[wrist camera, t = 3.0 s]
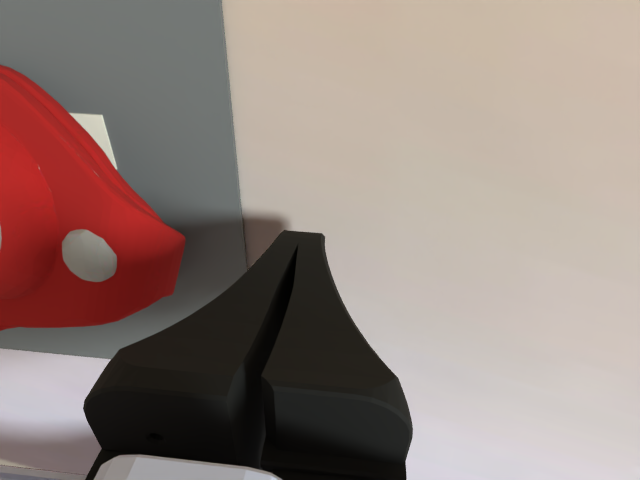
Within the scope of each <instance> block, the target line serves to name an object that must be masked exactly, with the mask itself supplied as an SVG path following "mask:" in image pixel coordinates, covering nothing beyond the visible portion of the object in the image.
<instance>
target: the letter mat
mask: <svg viewBox="0 0 640 480" xmlns="http://www.w3.org/2000/svg"><path fill="white" fill-rule="evenodd" d="M0 65H3V66H7V67H10V68H12V69H14V70H16V71H17V72H19V73H21V74H23V75H25V76H27V77H28V78H29V79H31V80H32V81H33V82H35V83H36V84H37V85H39V86H40V87H41V88H42V89H43V90H45V91H46V92H47V93H48V94H49V95H50V96H51V97H53V98H54V99H55V100H56V101H57V102H58V103H60V104H61V105H62V106H63V108H64V109H65V110H66V111H67V112H68V113H69V114H70V115H71V116H72V117H73V118H74V119H75V120H76V121H77V122H78V123H79V124H80V125H81V126H82V127H83V128H84V129H85V130H86V131H87V132H88V133H89V134H90V135H91V137H92V138H93V139H94V140H95V141H96V143H97V144H98V145H99V146H100V147H101V149H102V150H103V151H104V152H105V153H106V155H107V157H108V158H109V160H110V161H111V163H112V165H113V166H114V167H115V169H116V170H117V171H118V172H119V174H120V175H121V176H122V178H123V179H124V180H125V181H126V182H127V183H128V184H129V185H130V187H131V188H132V189H133V190H134V191H135V192H136V193H137V194H138V195H139V196H140V197H141V198H142V199H143V200H144V201H145V202H146V203H147V204H148V205H149V206H150V207H151V208H152V209H153V210H154V211H155V212H156V213H157V215H158V216H159V217H160V218H161V220H162V221H163V222H164V223H165V224H167V225H168V226H170V227H171V228H173V229H175V230H176V231H178V232H180V233H181V234H182V235H183V236H185V240H186V241H185V247H184V252H183V256H182V260H181V264H180V268H179V273H178V277H177V281H176V285H175V289H174V293H173V294H172V295H170V296H167V297H162V298H161V299H159V300H158V301H156V302H155V303H153V304H151V305H150V306H148V307H147V308H145V309H142V310H140V311H138V312H136V313H134V314H132V315H130V316H128V317H125V318H123V319H121V320H119V321H116V322H112V323H107V324H103V325H97V326H85V327H65V328H24V327H16V328H10V329H5V330H2V331H0V348H3V349H13V350H23V351H33V352H43V353H53V354H63V355H74V356H84V357H94V358H104V359H112V358H113V357H114V356H115V354H116V353H117V352H118V350H119V349H121V348H123V347H126V346H128V345H131V344H133V343H135V342H138V341H140V340H142V339H144V338H147V337H149V336H151V335H154V334H156V333H158V332H160V331H162V330H164V329H166V328H168V327H170V326H172V325H173V324H175V323H177V322H179V321H181V320H182V319H184V318H186V317H188V316H189V315H191V314H193V313H194V312H196V311H197V310H199V309H200V308H202V307H203V306H205V305H206V304H208V303H209V302H211V301H212V300H214V299H215V298H216V297H218V296H219V295H220V294H221V293H223V292H224V291H225V290H226V289H228V288H229V287H230V286H231V285H232V284H234V283H235V282H236V281H237V280H238V279H239V278H240V277H241V276H242V275H243V274H244V273H245V272H247V262H246V251H245V241H244V230H243V220H242V210H241V199H240V189H239V178H238V168H237V157H236V147H235V136H234V126H233V116H232V105H231V95H230V84H229V74H228V63H227V53H226V43H225V32H224V22H223V11H222V1H221V0H0Z"/></svg>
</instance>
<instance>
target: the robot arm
mask: <svg viewBox="0 0 640 480" xmlns="http://www.w3.org/2000/svg"><path fill="white" fill-rule="evenodd" d="M83 409H84V413H85V416H86V419H87V421H88V423H89V425H90V427H91V429H92V431H93V433H94V434H95V436H96V438H97V440H98V442H99V444H100V446H101V448H102V449H101V451H100V453H99V455H98V457H97V458H96V460H95V462H94V464H93V466H92V468H91V470H90V471H89V473H88V475H81V474H72V473H64V472H55V471H47V470H39V469H30V468H22V467H13V466H5V465H0V480H406V465H405V460H406V457H407V454H408V450H409V447H410V444H411V440H412V434H413V428H412V421H411V416H410V412H409V408H408V404H407V401H406V398H405V395H404V392H403V390H402V387H401V384H400V382H399V379H398V377H397V376H396V375H395V374H394V373H393V372H392V371H391V370H390V369H389V368H388V367H387V366H386V365H385V363H384V362H383V361H382V360H381V359H380V358H379V356H378V355H377V354H376V353H375V351H374V350H373V349H372V348H371V346H370V345H369V344H368V342H367V341H366V339H365V338H364V337H363V335H362V334H361V332H360V331H359V329H358V328H357V326H356V325H355V323H354V322H353V320H352V318H351V316H350V315H349V313H348V311H347V309H346V307H345V305H344V303H343V301H342V299H341V297H340V295H339V293H338V290H337V288H336V286H335V283H334V280H333V278H332V275H331V271H330V268H329V265H328V261H327V257H326V252H325V236H324V235H323V234H322V233H310V232H297V231H285V230H284V231H283V232H281V233H280V235H279V236H278V237H277V238H276V240H275V241H274V242H273V243H272V245H271V246H270V247H269V248H268V249H267V250H266V252H265V253H264V254H263V255H262V256H261V257H260V258H259V259H258V260H257V261H256V262H255V264H254V265H253V266H252V267H251V268H250V269H249V270H248V271H247V272H245V273H244V274H243V275H242V276H241V277H240V278H239V279H238V280H237V281H236V282H235V283H234V284H232V285H231V286H230V287H229V288H228V289H226V290H225V291H224V292H223V293H221V294H220V295H219V296H218V297H216V298H215V299H214V300H212V301H211V302H209V303H208V304H206V305H205V306H203V307H202V308H200V309H199V310H197V311H196V312H194V313H193V314H191V315H189V316H188V317H186V318H184V319H182V320H181V321H179V322H177V323H175V324H173V325H172V326H170V327H168V328H166V329H164V330H162V331H160V332H158V333H156V334H154V335H151V336H149V337H147V338H144V339H142V340H140V341H138V342H135V343H133V344H131V345H128V346H126V347H123V348H121V349H119V350H118V352H117V353H116V354H115V356H114V357H113V358H112V359H111V361H110V362H109V363H108V365H107V366H106V368H105V369H104V371H103V372H102V374H101V375H100V377H99V378H98V380H97V382H96V383H95V385H94V386H93V388H92V389H91V391H90V393H89V394H88V396H87V397H86V399H85V401H84V407H83Z"/></svg>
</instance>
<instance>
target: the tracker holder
mask: <svg viewBox="0 0 640 480" xmlns="http://www.w3.org/2000/svg"><path fill="white" fill-rule="evenodd" d="M185 241H186V240H185V236H183V235H182V234H181V233H180V232H178V231H176V230H175V229H173V228H171V227H170V226H168V225H167V224H165V223H164V222H163V221H162V220H161V218H160V217H159V216H158V215H157V213H156V212H155V211H154V210H153V209H152V208H151V207H150V206H149V205H148V204H147V203H146V202H145V201H144V200H143V199H142V198H141V197H140V196H139V195H138V194H137V193H136V192H135V191H134V190H133V189H132V188H131V187H130V185H129V184H128V183H127V182H126V181H125V180H124V179H123V178H122V176H121V175H120V174H119V172H118V171H117V170H116V169H115V167H114V166H113V165H112V163H111V161H110V160H109V158H108V157H107V155H106V153H105V152H104V151H103V150H102V149H101V147H100V146H99V145H98V144H97V143H96V141H95V140H94V139H93V138H92V137H91V135H90V134H89V133H88V132H87V131H86V130H85V129H84V128H83V127H82V126H81V125H80V124H79V123H78V122H77V121H76V120H75V119H74V118H73V117H72V116H71V115H70V114H69V113H68V112H67V111H66V110H65V109H64V108H63V106H62V105H61V104H60V103H58V102H57V101H56V100H55V99H54V98H53V97H51V96H50V95H49V94H48V93H47V92H46V91H45V90H43V89H42V88H41V87H40V86H39V85H37V84H36V83H35V82H33V81H32V80H31V79H29V78H28V77H27V76H25V75H23V74H21V73H19V72H17V71H16V70H14V69H12V68H10V67H7V66H3V65H0V331H2V330H5V329H10V328H16V327H24V328H65V327H85V326H97V325H103V324H107V323H112V322H116V321H119V320H121V319H123V318H125V317H128V316H130V315H132V314H134V313H136V312H138V311H140V310H142V309H145V308H147V307H148V306H150V305H151V304H153V303H155V302H156V301H158V300H159V299H161V298H162V297H167V296H170V295H172V294H173V293H174V289H175V285H176V281H177V277H178V273H179V268H180V264H181V260H182V256H183V252H184V247H185Z"/></svg>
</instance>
